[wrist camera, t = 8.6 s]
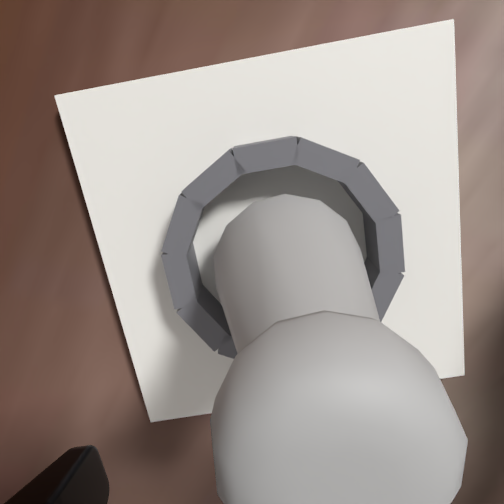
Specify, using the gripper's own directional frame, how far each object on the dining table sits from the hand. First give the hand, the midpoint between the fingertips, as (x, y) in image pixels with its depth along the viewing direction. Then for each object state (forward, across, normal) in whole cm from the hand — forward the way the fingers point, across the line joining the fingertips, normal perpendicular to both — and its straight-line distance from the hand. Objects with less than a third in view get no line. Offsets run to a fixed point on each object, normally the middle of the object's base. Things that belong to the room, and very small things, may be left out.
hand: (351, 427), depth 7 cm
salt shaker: (+12, 0, 0) cm, 12 cm away
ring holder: (+13, 0, 0) cm, 13 cm away
